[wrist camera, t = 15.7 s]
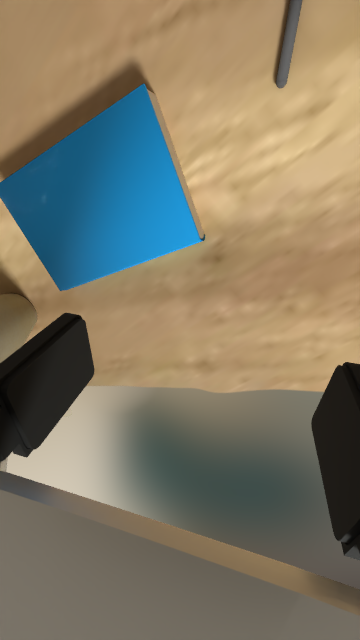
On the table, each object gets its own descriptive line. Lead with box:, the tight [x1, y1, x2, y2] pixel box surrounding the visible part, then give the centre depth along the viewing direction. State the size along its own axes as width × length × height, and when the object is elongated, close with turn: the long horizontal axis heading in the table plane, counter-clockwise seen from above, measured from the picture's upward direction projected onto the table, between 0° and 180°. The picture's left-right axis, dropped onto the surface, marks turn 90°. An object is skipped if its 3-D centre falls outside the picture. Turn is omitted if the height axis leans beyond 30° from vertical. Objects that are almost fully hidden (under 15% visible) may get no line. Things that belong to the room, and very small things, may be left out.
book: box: [0, 84, 205, 291], centre depth 36 cm, size 17×4×25 cm
